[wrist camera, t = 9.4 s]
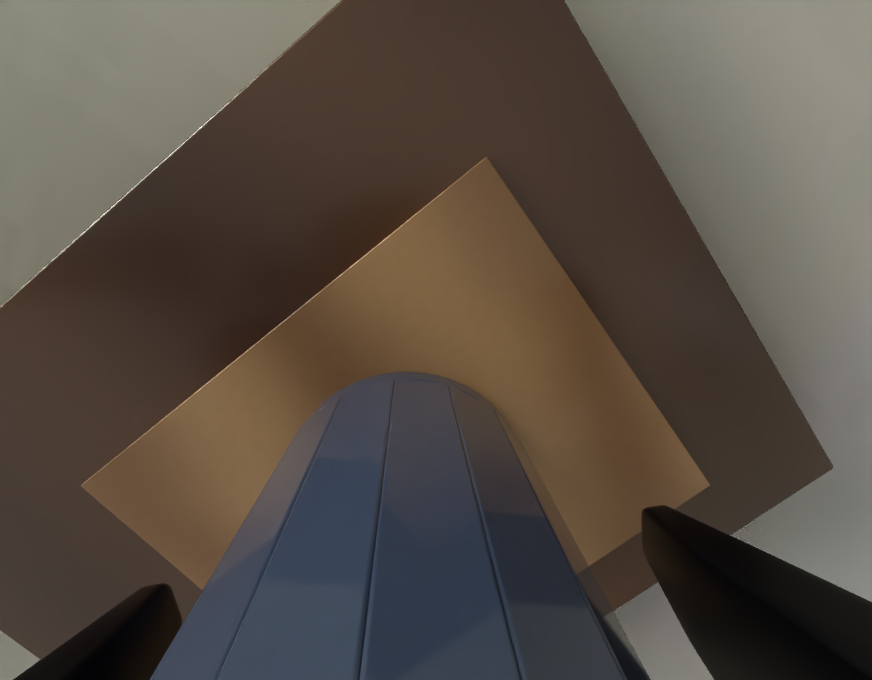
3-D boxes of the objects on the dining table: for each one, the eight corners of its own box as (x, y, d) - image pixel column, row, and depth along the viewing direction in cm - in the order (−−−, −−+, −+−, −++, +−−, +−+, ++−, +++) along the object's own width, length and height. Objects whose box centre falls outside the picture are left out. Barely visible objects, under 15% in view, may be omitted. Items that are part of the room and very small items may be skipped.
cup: (389, 621, 11) (350, 1319, 4) (233, 470, 10) (-250, 1098, 3) (568, 497, 11) (905, 1052, 3) (427, 320, 9) (481, 602, 2)
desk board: (290, 772, 15) (274, 840, 13) (-123, 453, 11) (-216, 491, 9) (786, 441, 13) (843, 472, 11) (476, -75, 9) (490, -144, 7)
